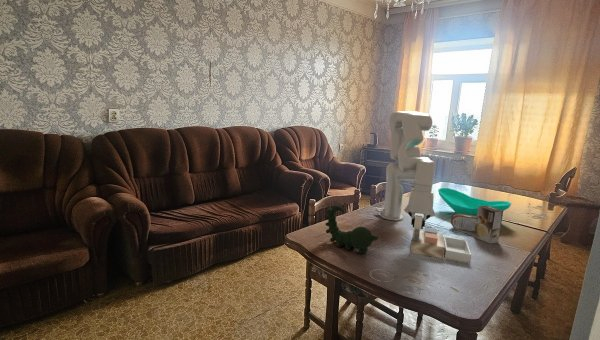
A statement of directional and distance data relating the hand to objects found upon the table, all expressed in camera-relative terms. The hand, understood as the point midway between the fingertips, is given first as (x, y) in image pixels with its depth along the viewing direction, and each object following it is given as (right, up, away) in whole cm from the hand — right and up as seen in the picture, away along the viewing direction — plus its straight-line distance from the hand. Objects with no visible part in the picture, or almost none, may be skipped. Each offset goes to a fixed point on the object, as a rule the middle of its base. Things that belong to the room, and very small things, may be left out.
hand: (417, 226), depth 141 cm
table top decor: (+49, -3, +47) cm, 67 cm away
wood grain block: (+4, -10, 0) cm, 10 cm away
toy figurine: (-31, -9, -4) cm, 33 cm away
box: (+15, -11, -4) cm, 19 cm away
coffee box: (+39, -9, +14) cm, 42 cm away
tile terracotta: (+4, -5, -4) cm, 8 cm away
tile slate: (+7, -4, +2) cm, 8 cm away
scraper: (0, -3, +1) cm, 3 cm away
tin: (+34, -7, +25) cm, 43 cm away
